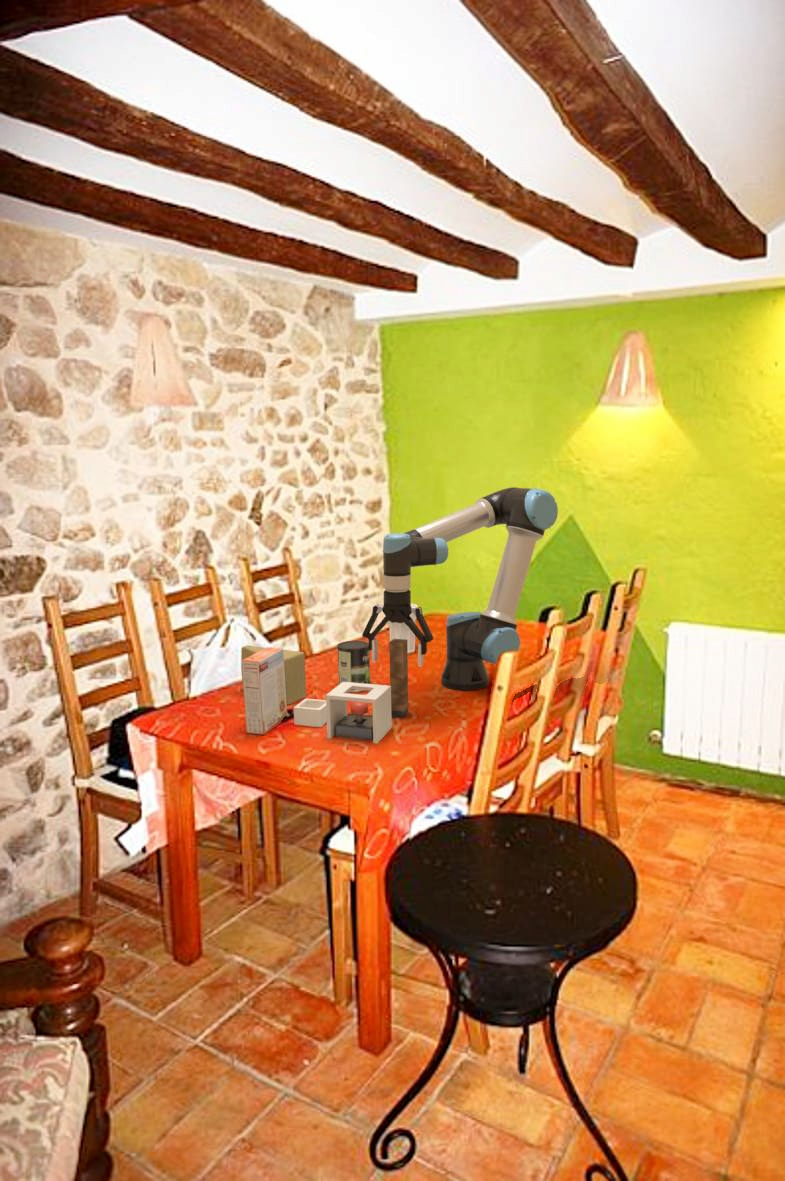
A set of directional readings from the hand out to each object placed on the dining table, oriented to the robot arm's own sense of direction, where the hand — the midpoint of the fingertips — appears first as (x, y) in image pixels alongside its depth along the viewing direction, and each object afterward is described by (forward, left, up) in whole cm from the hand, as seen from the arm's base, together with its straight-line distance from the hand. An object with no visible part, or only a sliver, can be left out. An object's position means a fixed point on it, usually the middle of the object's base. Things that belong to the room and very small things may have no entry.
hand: (397, 663), depth 227 cm
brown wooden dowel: (0, 0, -15) cm, 15 cm away
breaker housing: (+6, +16, -15) cm, 23 cm away
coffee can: (+22, -21, -16) cm, 34 cm away
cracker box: (+33, +18, -16) cm, 40 cm away
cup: (+20, -65, -16) cm, 70 cm away
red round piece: (+6, +16, -13) cm, 21 cm away
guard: (+6, +16, -15) cm, 23 cm away
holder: (+22, +11, -15) cm, 29 cm away
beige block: (+44, -6, -16) cm, 47 cm away
